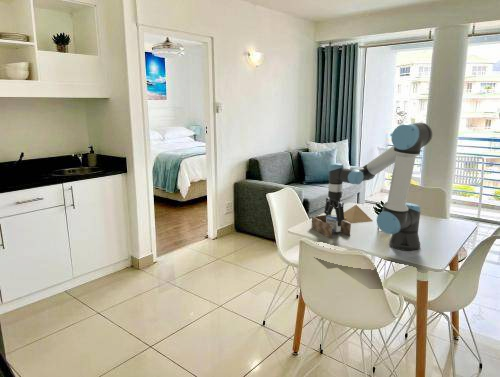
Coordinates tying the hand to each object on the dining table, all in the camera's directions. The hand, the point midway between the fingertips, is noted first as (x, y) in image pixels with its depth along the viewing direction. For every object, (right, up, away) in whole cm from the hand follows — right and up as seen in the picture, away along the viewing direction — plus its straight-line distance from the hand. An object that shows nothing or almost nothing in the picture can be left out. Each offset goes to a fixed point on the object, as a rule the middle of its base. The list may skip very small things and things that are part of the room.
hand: (333, 228), depth 220 cm
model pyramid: (+20, +3, +28) cm, 34 cm away
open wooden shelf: (-1, -2, +3) cm, 4 cm away
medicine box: (0, -1, 0) cm, 1 cm away
